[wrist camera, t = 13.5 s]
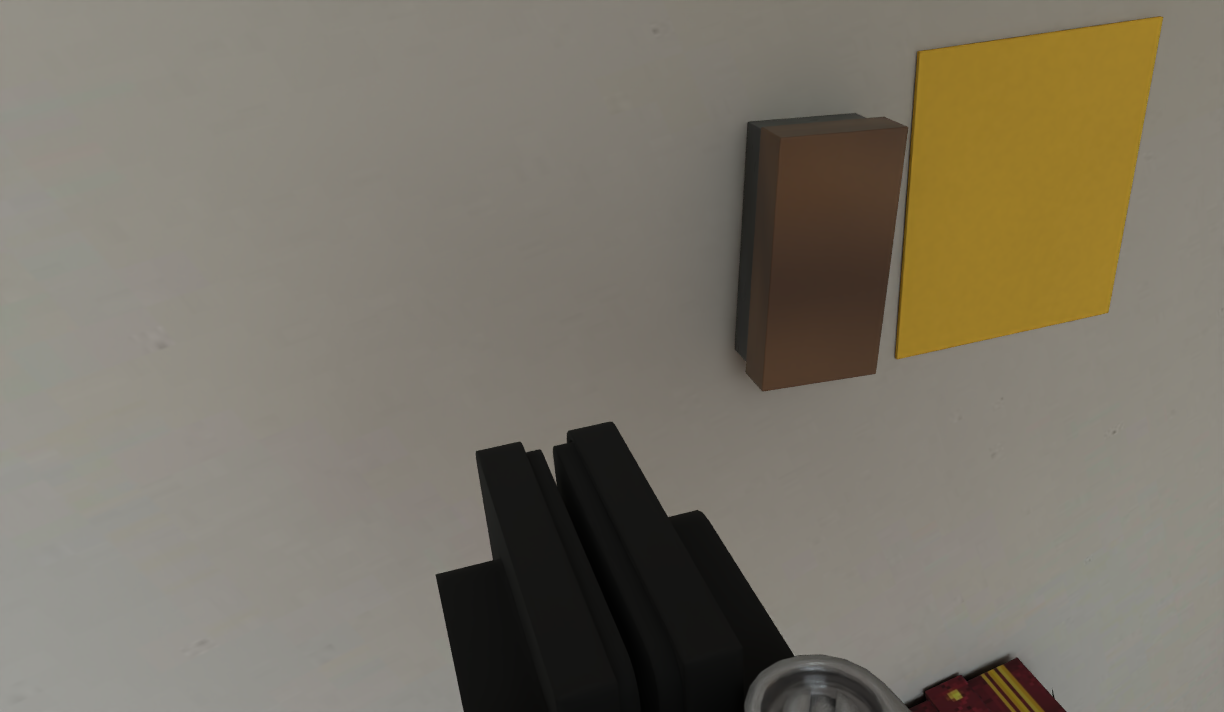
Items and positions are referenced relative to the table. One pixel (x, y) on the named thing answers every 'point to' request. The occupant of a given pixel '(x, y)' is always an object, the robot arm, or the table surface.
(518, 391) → the table surface
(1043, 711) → the decorative book
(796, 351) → the brush
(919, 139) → the cloth
